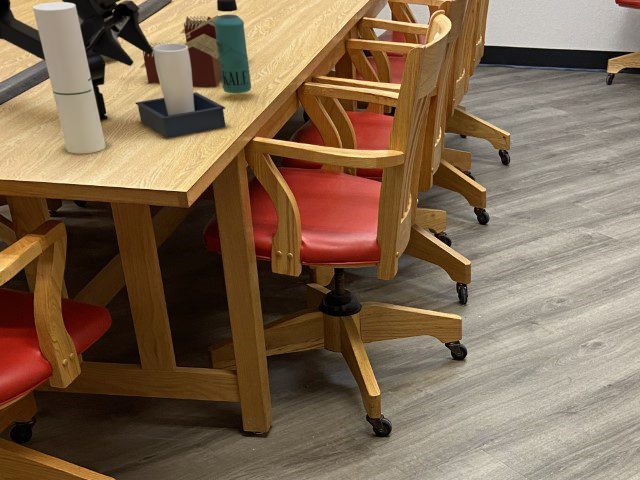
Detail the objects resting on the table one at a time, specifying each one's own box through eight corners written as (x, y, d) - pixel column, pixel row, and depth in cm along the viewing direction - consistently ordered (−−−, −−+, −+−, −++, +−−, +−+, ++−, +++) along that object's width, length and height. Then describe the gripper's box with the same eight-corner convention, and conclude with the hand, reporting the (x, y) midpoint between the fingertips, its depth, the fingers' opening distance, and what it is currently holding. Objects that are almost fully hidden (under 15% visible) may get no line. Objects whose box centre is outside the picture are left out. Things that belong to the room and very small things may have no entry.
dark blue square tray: (166, 139, 192) (162, 118, 189) (139, 122, 200) (135, 102, 198) (227, 127, 199) (225, 107, 196) (199, 111, 207) (196, 92, 204)
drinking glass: (204, 120, 202) (192, 43, 193) (193, 130, 196) (181, 51, 187) (173, 119, 202) (159, 42, 193) (161, 128, 197) (147, 50, 188)
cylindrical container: (109, 141, 190) (80, 2, 175) (99, 153, 184) (68, 10, 169) (73, 141, 190) (40, 1, 175) (61, 153, 184) (27, 10, 169)
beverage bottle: (240, 90, 220) (227, -6, 208) (259, 96, 217) (248, -2, 205) (217, 96, 216) (203, -2, 204) (236, 102, 213) (223, 3, 201)
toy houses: (228, 87, 222) (222, 39, 216) (138, 86, 222) (129, 38, 216) (259, 41, 258) (254, -1, 252) (182, 40, 258) (175, -2, 252)
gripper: (74, -29, 175) (144, 40, 180) (120, -46, 190) (183, 18, 195) (44, 16, 180) (112, 81, 186) (91, -4, 195) (153, 57, 201)
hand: (142, 58), depth 192 cm, fingers open, 9 cm apart
